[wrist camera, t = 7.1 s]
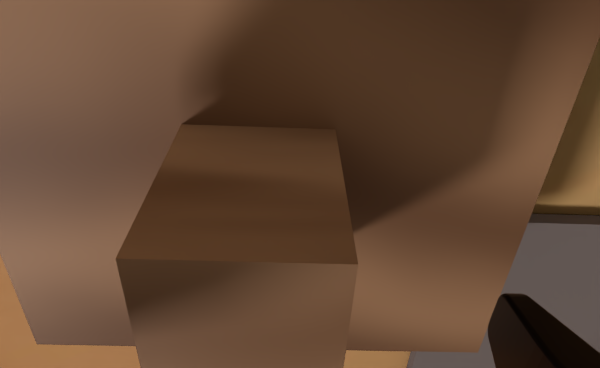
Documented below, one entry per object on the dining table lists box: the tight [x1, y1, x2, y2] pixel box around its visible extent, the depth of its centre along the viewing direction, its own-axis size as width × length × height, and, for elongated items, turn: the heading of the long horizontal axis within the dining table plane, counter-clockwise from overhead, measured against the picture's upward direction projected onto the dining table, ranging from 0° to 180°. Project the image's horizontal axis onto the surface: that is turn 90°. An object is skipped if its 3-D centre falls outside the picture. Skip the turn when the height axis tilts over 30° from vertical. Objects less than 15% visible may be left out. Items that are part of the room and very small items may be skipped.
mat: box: [407, 214, 600, 368], centre depth 22 cm, size 14×15×1 cm
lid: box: [0, 0, 600, 368], centre depth 10 cm, size 12×14×6 cm
